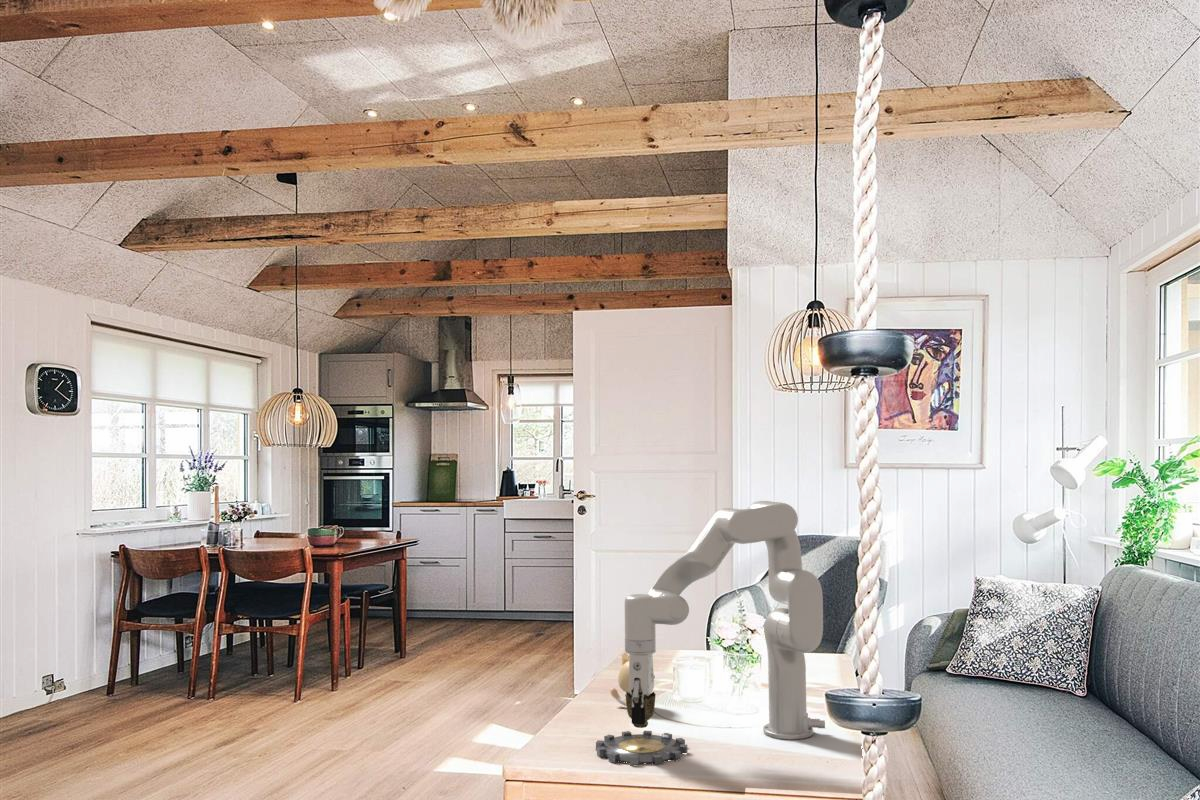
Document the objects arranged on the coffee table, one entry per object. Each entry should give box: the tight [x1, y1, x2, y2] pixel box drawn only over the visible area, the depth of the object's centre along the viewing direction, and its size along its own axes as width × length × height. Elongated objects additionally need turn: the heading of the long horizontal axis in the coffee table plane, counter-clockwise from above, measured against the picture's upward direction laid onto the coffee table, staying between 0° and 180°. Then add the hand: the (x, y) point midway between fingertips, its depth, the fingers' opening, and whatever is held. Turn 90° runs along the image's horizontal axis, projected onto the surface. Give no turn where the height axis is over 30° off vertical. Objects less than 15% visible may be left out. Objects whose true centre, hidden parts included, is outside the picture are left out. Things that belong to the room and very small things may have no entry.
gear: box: [595, 730, 688, 766], centre depth 238 cm, size 22×22×2 cm
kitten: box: [609, 652, 655, 707], centre depth 278 cm, size 15×10×15 cm, turn 32°
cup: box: [624, 691, 656, 729], centre depth 238 cm, size 8×7×8 cm
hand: (640, 719), depth 238 cm, fingers closed on cup, 6 cm apart
